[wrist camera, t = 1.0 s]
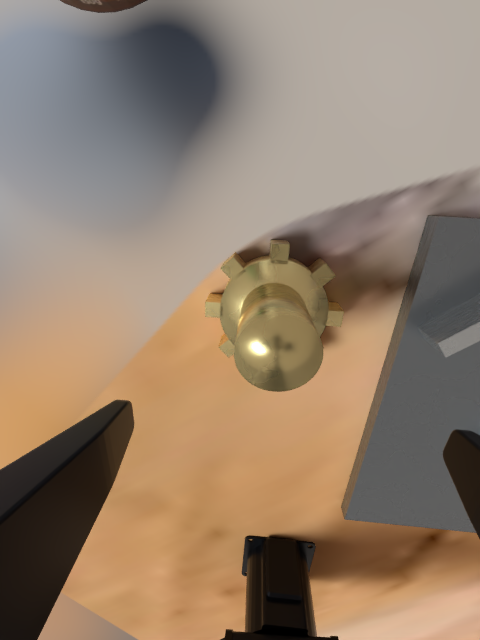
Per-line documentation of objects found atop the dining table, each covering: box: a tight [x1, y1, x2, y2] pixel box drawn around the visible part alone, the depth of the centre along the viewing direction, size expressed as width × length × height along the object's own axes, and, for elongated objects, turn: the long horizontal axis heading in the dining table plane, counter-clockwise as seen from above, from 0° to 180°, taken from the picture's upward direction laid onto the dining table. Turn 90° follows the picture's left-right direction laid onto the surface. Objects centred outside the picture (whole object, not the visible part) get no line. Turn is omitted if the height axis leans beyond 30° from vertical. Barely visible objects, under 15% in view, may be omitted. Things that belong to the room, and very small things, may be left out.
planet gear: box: [205, 240, 344, 392], centre depth 14 cm, size 8×8×6 cm
